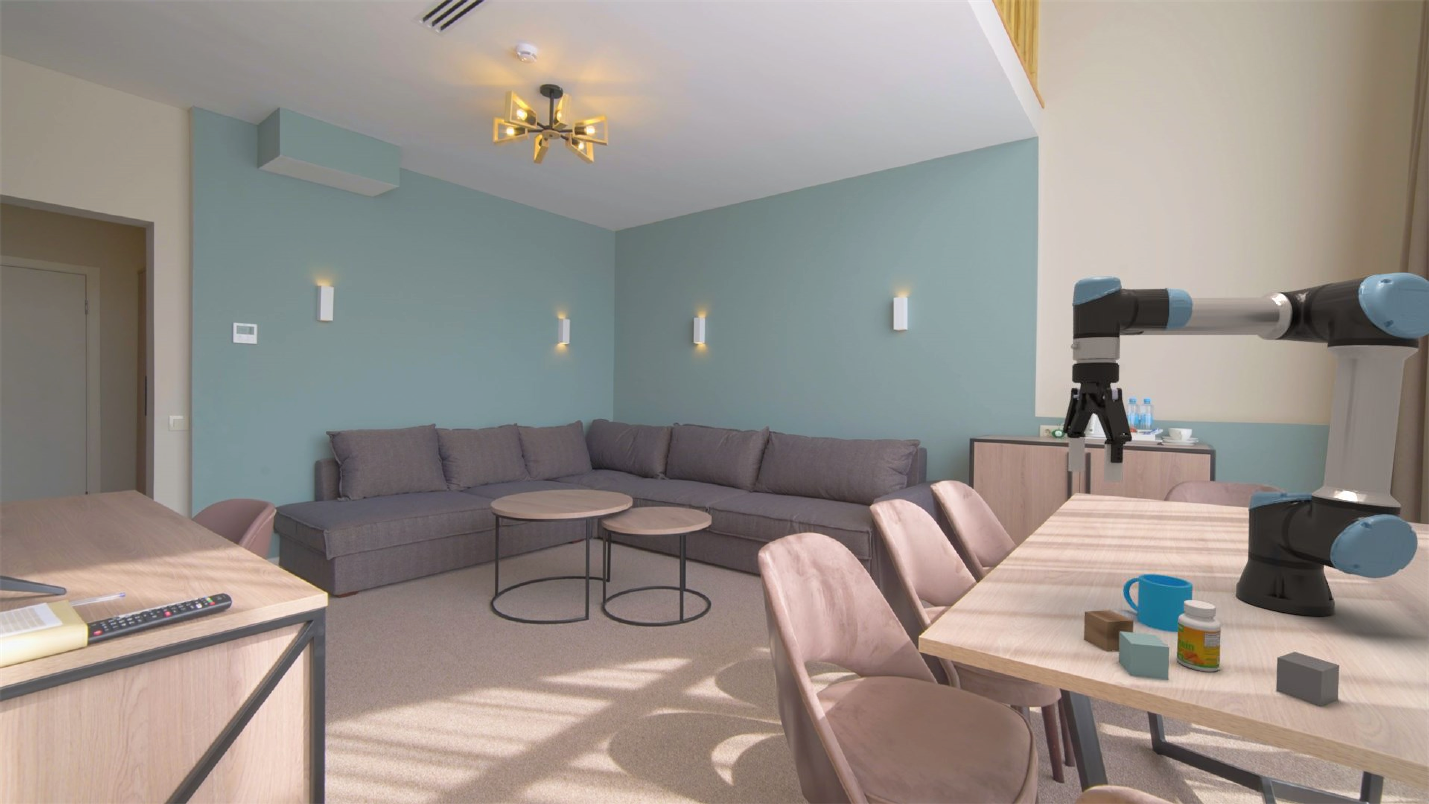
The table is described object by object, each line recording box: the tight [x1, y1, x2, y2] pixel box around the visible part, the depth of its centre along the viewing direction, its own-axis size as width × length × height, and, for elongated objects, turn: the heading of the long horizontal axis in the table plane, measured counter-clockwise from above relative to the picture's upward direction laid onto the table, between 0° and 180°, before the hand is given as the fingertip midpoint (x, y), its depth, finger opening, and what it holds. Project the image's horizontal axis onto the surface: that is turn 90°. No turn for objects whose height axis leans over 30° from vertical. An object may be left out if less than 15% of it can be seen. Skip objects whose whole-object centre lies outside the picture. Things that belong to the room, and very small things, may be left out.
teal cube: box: [1118, 631, 1170, 681], centre depth 99 cm, size 5×5×5 cm
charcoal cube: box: [1275, 651, 1340, 707], centre depth 91 cm, size 5×5×5 cm
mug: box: [1122, 573, 1193, 633], centre depth 120 cm, size 12×8×8 cm
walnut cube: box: [1083, 609, 1134, 652], centre depth 109 cm, size 5×5×5 cm
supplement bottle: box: [1176, 599, 1222, 673], centre depth 101 cm, size 5×5×10 cm
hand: (1093, 476), depth 119 cm, fingers open, 13 cm apart
